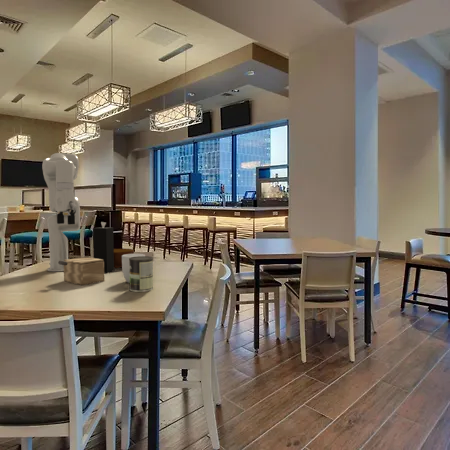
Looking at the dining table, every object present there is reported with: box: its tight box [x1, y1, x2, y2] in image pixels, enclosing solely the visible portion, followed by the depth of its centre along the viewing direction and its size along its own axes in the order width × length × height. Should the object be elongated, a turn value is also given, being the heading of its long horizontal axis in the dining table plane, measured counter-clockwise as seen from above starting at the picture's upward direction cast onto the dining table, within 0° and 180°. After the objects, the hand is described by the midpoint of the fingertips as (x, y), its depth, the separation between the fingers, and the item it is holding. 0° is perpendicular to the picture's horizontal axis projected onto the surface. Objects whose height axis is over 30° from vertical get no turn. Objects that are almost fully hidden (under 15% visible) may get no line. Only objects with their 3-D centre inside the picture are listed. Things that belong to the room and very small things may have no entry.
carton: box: [63, 261, 105, 286], centre depth 176 cm, size 16×12×10 cm
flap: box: [58, 256, 103, 266], centre depth 173 cm, size 15×18×2 cm
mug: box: [121, 253, 146, 284], centre depth 175 cm, size 15×11×13 cm
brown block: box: [114, 248, 135, 269], centre depth 215 cm, size 18×18×10 cm
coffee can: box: [129, 255, 154, 293], centre depth 158 cm, size 10×10×14 cm
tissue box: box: [92, 221, 115, 274], centre depth 199 cm, size 8×8×28 cm
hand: (65, 223), depth 167 cm, fingers open, 9 cm apart
